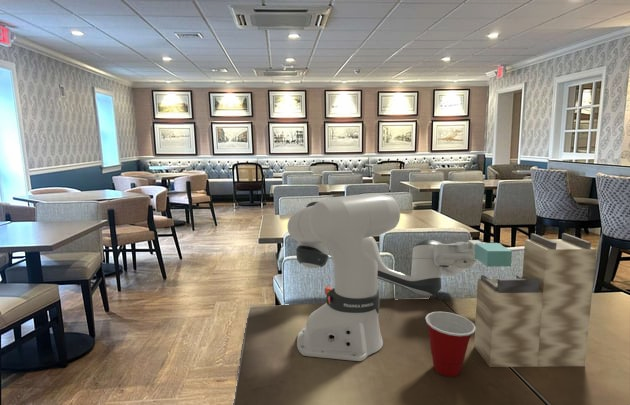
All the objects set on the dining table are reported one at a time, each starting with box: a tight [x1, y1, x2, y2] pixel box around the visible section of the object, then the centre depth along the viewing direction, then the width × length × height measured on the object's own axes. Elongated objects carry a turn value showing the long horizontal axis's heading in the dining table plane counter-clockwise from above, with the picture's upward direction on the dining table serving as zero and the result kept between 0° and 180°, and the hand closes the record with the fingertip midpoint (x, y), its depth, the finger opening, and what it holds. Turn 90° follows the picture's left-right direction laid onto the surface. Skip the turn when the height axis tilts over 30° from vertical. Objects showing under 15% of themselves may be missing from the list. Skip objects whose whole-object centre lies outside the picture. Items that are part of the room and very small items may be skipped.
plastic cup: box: [425, 311, 476, 378], centre depth 88 cm, size 11×11×12 cm
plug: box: [467, 239, 513, 268], centre depth 106 cm, size 6×17×4 cm, turn 179°
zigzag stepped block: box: [473, 232, 597, 368], centre depth 92 cm, size 22×9×30 cm, turn 90°
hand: (476, 245), depth 112 cm, fingers closed on plug, 3 cm apart
